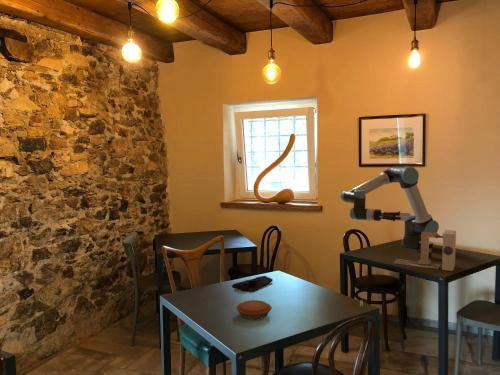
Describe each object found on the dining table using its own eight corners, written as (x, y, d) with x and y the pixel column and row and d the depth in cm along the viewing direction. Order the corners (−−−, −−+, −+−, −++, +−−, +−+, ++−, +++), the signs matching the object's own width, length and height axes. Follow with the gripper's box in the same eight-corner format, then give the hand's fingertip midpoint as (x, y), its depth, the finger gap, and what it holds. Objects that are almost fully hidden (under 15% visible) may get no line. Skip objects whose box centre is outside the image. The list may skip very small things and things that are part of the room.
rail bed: (397, 259, 284) (397, 257, 284) (440, 264, 272) (440, 262, 272) (393, 263, 275) (393, 261, 275) (438, 269, 262) (438, 267, 262)
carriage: (420, 260, 276) (421, 231, 274) (435, 262, 271) (436, 232, 269) (418, 263, 270) (419, 233, 268) (434, 265, 265) (435, 234, 263)
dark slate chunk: (277, 284, 236) (277, 275, 236) (249, 294, 220) (249, 285, 220) (256, 278, 247) (256, 270, 246) (228, 287, 231) (228, 279, 230)
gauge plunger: (435, 237, 268) (436, 232, 268) (453, 239, 263) (454, 234, 263) (435, 238, 265) (435, 233, 265) (453, 240, 260) (453, 235, 260)
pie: (250, 325, 181) (249, 313, 181) (229, 313, 194) (229, 302, 193) (278, 316, 190) (278, 305, 190) (257, 306, 203) (257, 295, 202)
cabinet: (444, 264, 271) (445, 230, 269) (454, 266, 268) (456, 230, 266) (441, 269, 260) (443, 233, 258) (452, 271, 257) (454, 234, 255)
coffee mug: (430, 255, 294) (431, 241, 293) (434, 259, 285) (435, 244, 284) (412, 255, 295) (413, 241, 294) (416, 258, 286) (416, 243, 286)
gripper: (378, 217, 295) (411, 219, 285) (369, 223, 273) (404, 226, 263) (378, 206, 294) (412, 208, 284) (369, 211, 273) (404, 213, 262)
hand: (408, 217), depth 273 cm, fingers open, 13 cm apart
